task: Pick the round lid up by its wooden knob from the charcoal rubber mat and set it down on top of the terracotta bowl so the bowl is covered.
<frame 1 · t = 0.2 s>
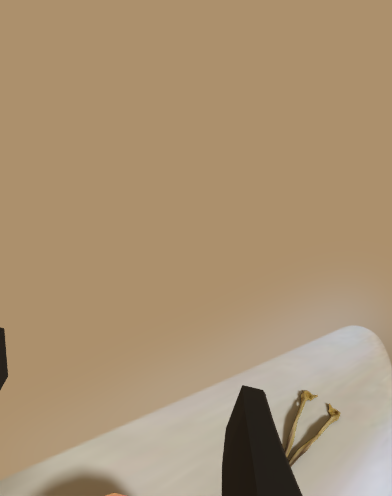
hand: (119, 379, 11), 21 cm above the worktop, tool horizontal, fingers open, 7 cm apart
tongs: (301, 448, 35), on the worktop
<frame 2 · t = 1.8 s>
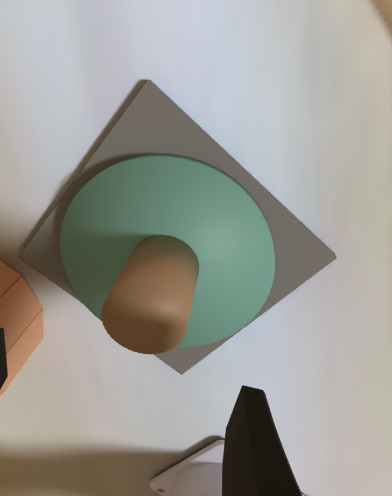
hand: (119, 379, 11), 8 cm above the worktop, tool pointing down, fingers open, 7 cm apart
mat: (169, 253, 18), on the worktop
lid: (168, 257, 18), resting on mat
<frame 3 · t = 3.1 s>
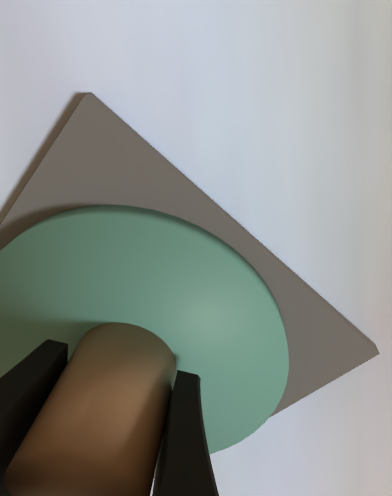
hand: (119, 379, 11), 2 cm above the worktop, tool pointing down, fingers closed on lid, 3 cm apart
mat: (136, 336, 13), on the worktop
lid: (133, 344, 12), resting on mat, touching gripper
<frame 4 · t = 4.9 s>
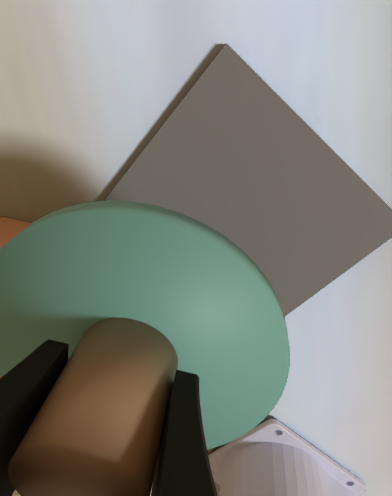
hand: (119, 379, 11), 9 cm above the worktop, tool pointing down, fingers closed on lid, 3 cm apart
mat: (233, 225, 18), on the worktop
lid: (135, 339, 12), point 7 cm above the worktop, touching gripper
bowl: (26, 285, 21), on the worktop
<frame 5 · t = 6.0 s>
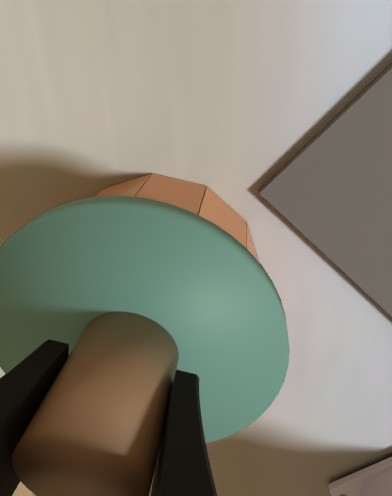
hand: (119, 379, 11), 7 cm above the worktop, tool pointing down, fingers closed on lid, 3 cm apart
lid: (136, 334, 12), point 5 cm above the worktop, touching gripper
bowl: (163, 266, 17), on the worktop
when the fingers open (7 cm above the worktop, at t = 6.7 s): lid stays where it is, resting on bowl.
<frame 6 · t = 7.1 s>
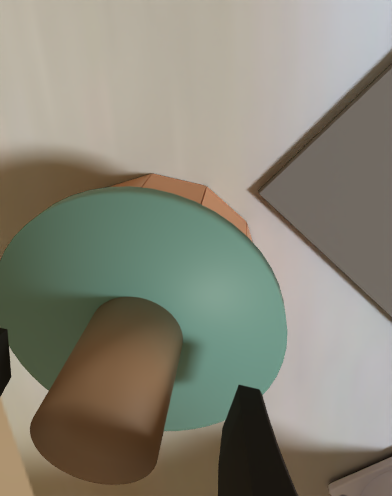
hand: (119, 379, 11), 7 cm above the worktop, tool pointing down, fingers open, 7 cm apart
lid: (142, 320, 13), point 4 cm above the worktop, touching bowl
bowl: (163, 266, 17), on the worktop
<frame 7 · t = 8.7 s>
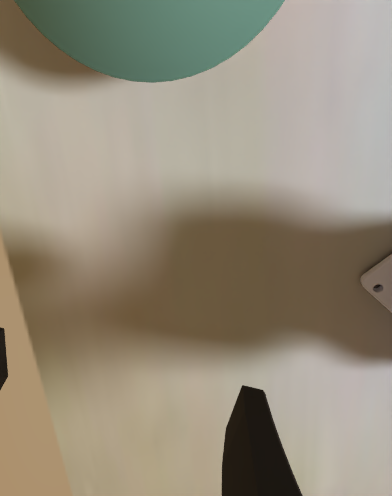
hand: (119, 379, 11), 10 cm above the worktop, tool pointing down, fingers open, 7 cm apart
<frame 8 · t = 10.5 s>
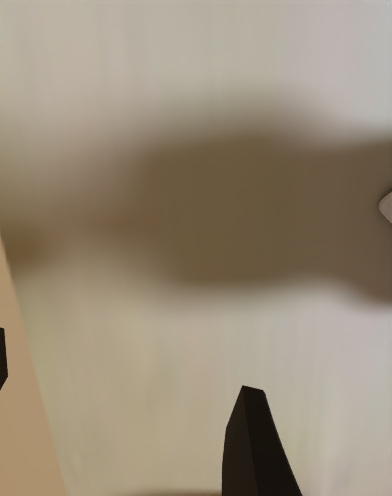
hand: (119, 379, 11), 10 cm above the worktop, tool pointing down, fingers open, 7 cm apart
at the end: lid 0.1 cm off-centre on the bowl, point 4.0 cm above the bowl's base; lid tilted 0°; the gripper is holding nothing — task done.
